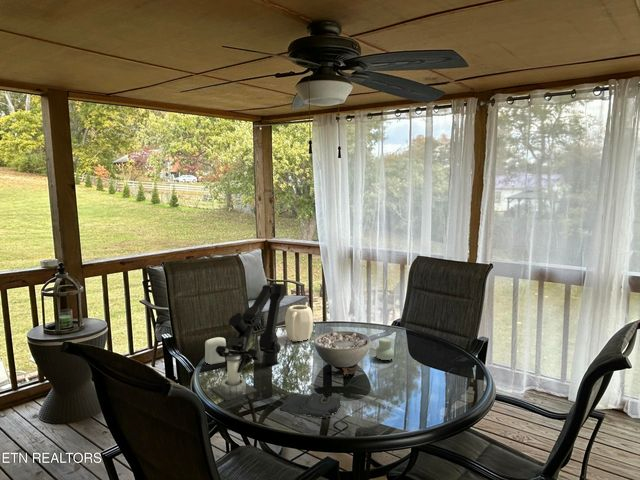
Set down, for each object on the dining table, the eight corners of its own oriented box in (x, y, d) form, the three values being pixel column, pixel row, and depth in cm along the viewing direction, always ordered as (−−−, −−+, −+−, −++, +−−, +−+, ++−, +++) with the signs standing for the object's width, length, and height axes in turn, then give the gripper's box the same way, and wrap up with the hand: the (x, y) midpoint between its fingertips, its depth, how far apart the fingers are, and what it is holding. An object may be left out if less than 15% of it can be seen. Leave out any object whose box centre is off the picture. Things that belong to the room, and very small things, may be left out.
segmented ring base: (240, 380, 195) (239, 373, 194) (257, 391, 184) (257, 383, 184) (210, 389, 186) (210, 381, 186) (226, 401, 175) (226, 392, 175)
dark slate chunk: (293, 395, 182) (293, 384, 181) (344, 404, 174) (344, 392, 174) (277, 411, 167) (277, 399, 167) (332, 422, 160) (332, 409, 160)
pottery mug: (357, 370, 210) (360, 358, 205) (353, 385, 202) (356, 374, 197) (333, 362, 211) (336, 350, 207) (328, 377, 204) (331, 365, 199)
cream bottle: (239, 382, 189) (239, 353, 187) (241, 387, 183) (241, 358, 182) (225, 384, 187) (225, 355, 185) (227, 389, 181) (227, 360, 180)
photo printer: (224, 359, 221) (223, 335, 220) (227, 361, 218) (227, 337, 217) (203, 363, 216) (203, 338, 215) (206, 366, 212) (206, 340, 211)
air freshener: (394, 363, 217) (394, 343, 217) (377, 362, 218) (378, 343, 217) (391, 355, 228) (391, 336, 227) (375, 355, 229) (375, 336, 228)
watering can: (319, 333, 266) (319, 302, 264) (305, 347, 240) (305, 313, 238) (295, 331, 270) (295, 300, 268) (278, 344, 245) (278, 310, 243)
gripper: (217, 327, 189) (204, 361, 179) (257, 330, 184) (247, 365, 175) (225, 339, 197) (214, 372, 188) (265, 343, 192) (255, 377, 183)
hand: (232, 372), depth 183 cm, fingers closed on cream bottle, 5 cm apart
